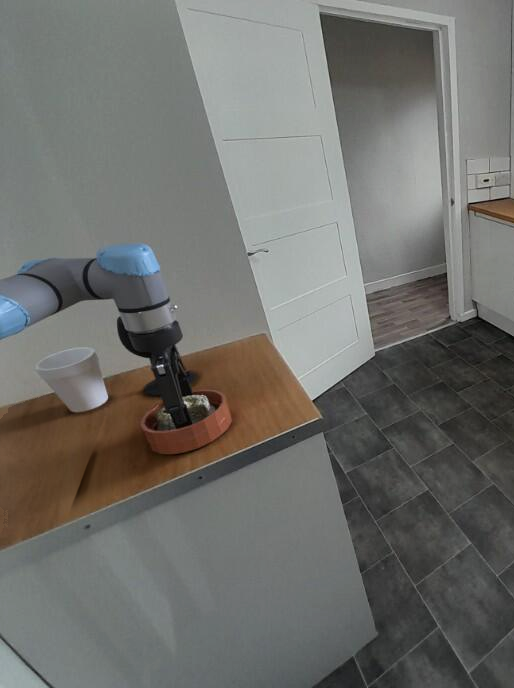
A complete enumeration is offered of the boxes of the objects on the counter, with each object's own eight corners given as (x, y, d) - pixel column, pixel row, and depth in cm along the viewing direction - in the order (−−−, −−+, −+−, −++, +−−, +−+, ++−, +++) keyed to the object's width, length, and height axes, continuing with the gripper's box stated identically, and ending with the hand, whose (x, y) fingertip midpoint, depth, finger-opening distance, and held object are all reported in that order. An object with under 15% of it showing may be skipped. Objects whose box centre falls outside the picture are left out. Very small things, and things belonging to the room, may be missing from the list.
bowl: (147, 466, 79) (136, 442, 77) (154, 425, 90) (145, 403, 87) (233, 438, 87) (226, 415, 84) (230, 403, 97) (223, 382, 95)
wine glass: (193, 368, 110) (168, 301, 102) (197, 386, 103) (170, 316, 94) (144, 382, 104) (112, 312, 96) (144, 403, 97) (110, 329, 88)
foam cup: (59, 424, 90) (30, 375, 84) (64, 403, 96) (38, 356, 91) (116, 406, 95) (93, 360, 90) (118, 387, 102) (96, 343, 96)
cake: (148, 429, 85) (137, 408, 83) (198, 402, 93) (190, 382, 91) (176, 441, 81) (165, 419, 79) (226, 411, 89) (218, 390, 87)
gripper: (174, 344, 71) (209, 443, 80) (180, 301, 88) (208, 386, 97) (117, 356, 67) (161, 459, 76) (134, 308, 84) (169, 397, 93)
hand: (188, 418), depth 87 cm, fingers closed on cake, 10 cm apart
